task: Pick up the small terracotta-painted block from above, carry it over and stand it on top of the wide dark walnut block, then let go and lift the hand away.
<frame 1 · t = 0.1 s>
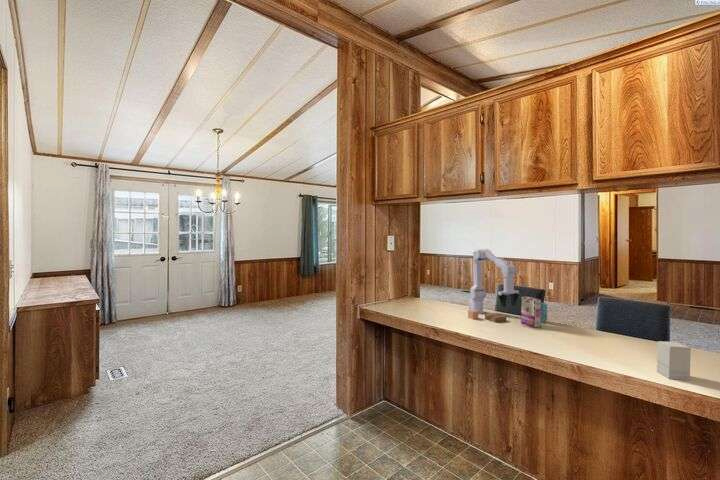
hand: (508, 306, 217), 10 cm above the table, tool pointing down, fingers open, 7 cm apart
candy bar box: (530, 325, 210), on the table
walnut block: (495, 320, 222), on the table
supplement box: (672, 376, 138), on the table
terracotta block: (473, 318, 226), on the table
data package: (535, 321, 220), on the table
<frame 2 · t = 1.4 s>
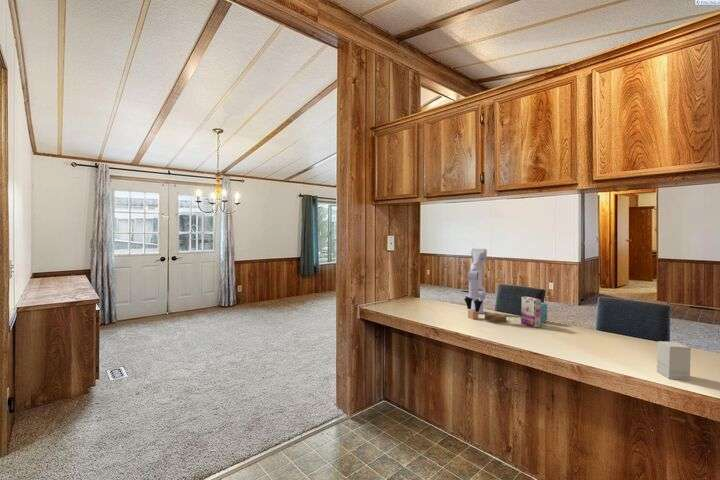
hand: (473, 310, 226), 5 cm above the table, tool pointing down, fingers open, 7 cm apart
nothing on the table moved.
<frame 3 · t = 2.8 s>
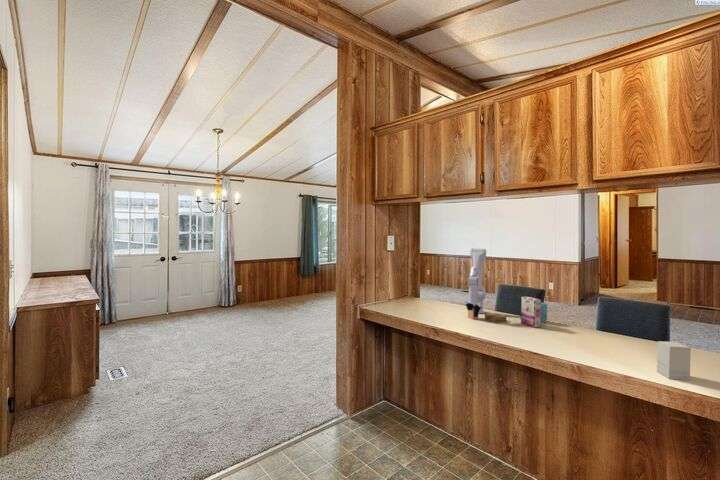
hand: (473, 315, 226), 2 cm above the table, tool pointing down, fingers closed on terracotta block, 4 cm apart
terracotta block: (473, 318, 226), on the table, touching gripper
everything else where it was.
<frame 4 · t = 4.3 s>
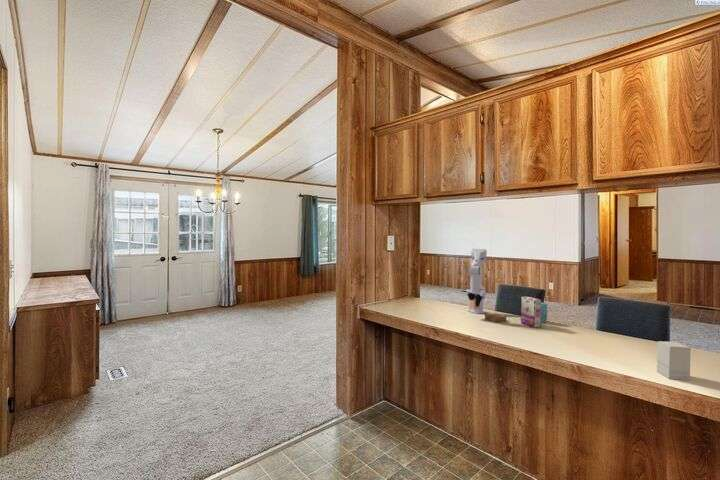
hand: (474, 305, 226), 8 cm above the table, tool pointing down, fingers closed on terracotta block, 4 cm apart
terracotta block: (474, 308, 226), point 7 cm above the table, touching gripper
everything else where it was.
when the fingers open (7 cm above the table, at t = 6.1 s): terracotta block drops 2 cm, resting on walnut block.
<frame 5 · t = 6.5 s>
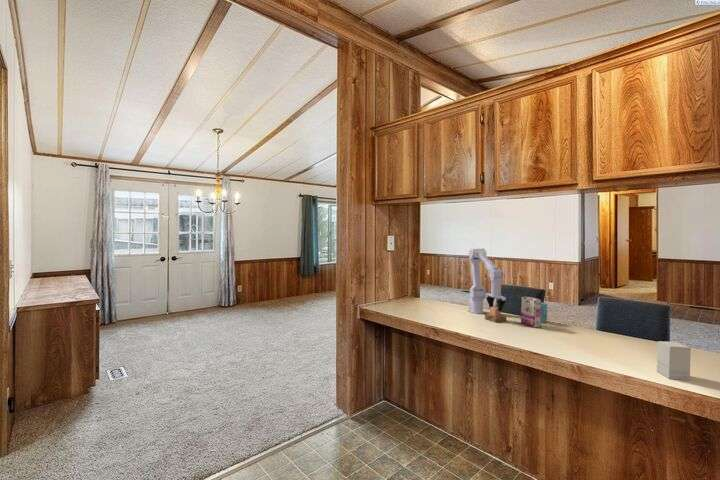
hand: (495, 309, 222), 7 cm above the table, tool pointing down, fingers open, 7 cm apart
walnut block: (495, 320, 222), on the table, touching terracotta block
terracotta block: (495, 315, 222), point 3 cm above the table, touching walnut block
everything else where it was.
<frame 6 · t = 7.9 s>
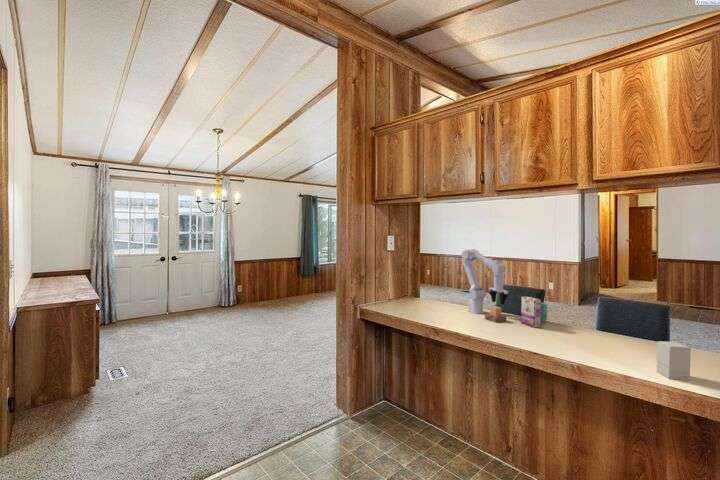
hand: (498, 303, 228), 9 cm above the table, tool pointing down, fingers open, 7 cm apart
nothing on the table moved.
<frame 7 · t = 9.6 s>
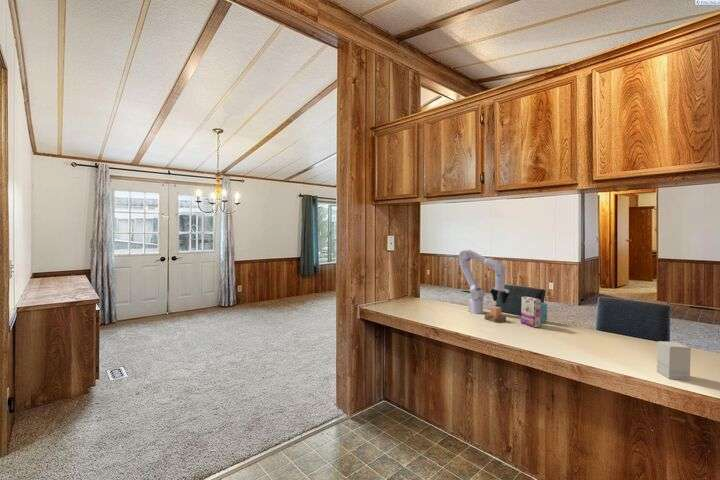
hand: (499, 302, 232), 9 cm above the table, tool pointing down, fingers open, 7 cm apart
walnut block: (495, 320, 222), on the table
terracotta block: (495, 315, 222), point 3 cm above the table
everything else where it was.
at the end: terracotta block 0.3 cm off-centre on the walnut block, point 3.5 cm above the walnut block's base; terracotta block tilted 0°; the gripper is holding nothing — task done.
